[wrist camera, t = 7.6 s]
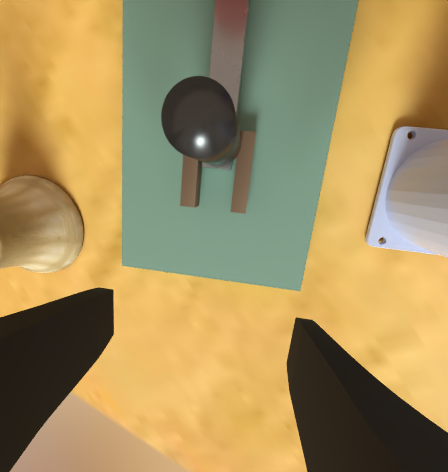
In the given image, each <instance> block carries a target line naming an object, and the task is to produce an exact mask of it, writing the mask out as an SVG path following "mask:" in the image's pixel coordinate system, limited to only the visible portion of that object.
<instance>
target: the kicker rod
mask: <svg viewBox="0 0 448 472" xmlns="http://www.w3.org/2000/svg"><path fill="white" fill-rule="evenodd" d="M249 8H250V0H215V13H214V25H213V38H212V50H211V62H210V75H209V77H205V76H192V77H188V78H185V79H183V80H181V81H180V82H178V83H177V84H176V85H174V86H173V87H172V89H171V90H170V91H169V93H168V94H167V96H166V98H165V100H164V103H163V106H162V112H161V122H162V128H163V131H164V134H165V136H166V138H167V140H168V141H169V143H170V144H171V145H172V146H173V148H175V149H176V150H177V151H178V152H180V153H181V154H183V155H185V156H188V157H191V158H193V159H196V160H199V161H201V162H202V167H205V168H215V169H224V170H232V163H233V160H234V159H235V158H236V157H237V156H238V154H239V152H240V148H241V136H240V131H239V126H238V122H237V118H238V108H239V99H240V90H241V81H242V72H243V63H244V54H245V45H246V35H247V26H248V17H249Z"/></svg>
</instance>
